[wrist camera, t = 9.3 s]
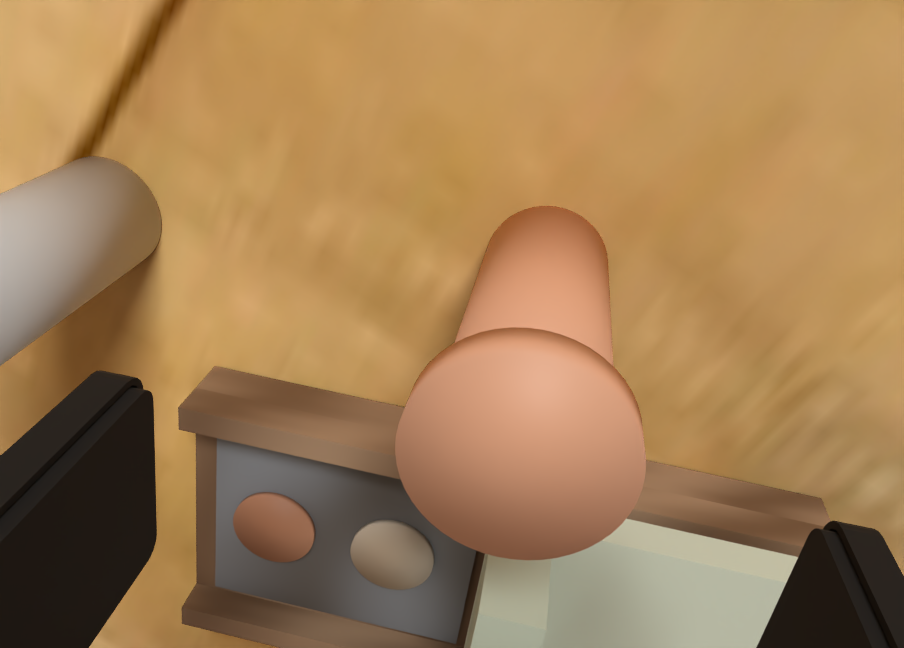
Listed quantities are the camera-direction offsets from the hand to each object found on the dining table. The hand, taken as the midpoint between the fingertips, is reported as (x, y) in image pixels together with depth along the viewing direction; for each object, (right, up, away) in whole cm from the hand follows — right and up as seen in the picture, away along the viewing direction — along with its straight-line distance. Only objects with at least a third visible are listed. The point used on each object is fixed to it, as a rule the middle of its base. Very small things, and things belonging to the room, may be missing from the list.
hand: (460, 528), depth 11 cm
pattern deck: (+1, -4, +12) cm, 13 cm away
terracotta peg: (+2, +4, +8) cm, 10 cm away
